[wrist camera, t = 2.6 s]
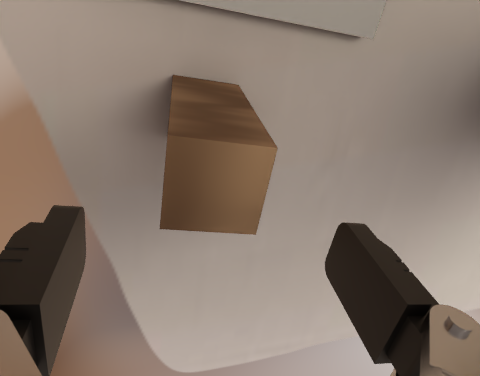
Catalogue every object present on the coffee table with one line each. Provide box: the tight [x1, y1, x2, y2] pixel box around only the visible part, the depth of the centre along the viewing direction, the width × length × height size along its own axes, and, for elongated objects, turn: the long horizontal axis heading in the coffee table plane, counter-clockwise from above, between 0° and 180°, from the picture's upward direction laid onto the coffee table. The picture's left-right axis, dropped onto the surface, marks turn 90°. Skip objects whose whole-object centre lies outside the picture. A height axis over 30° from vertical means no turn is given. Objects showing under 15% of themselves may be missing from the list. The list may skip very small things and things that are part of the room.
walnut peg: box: [160, 75, 277, 235], centre depth 18 cm, size 4×4×10 cm
